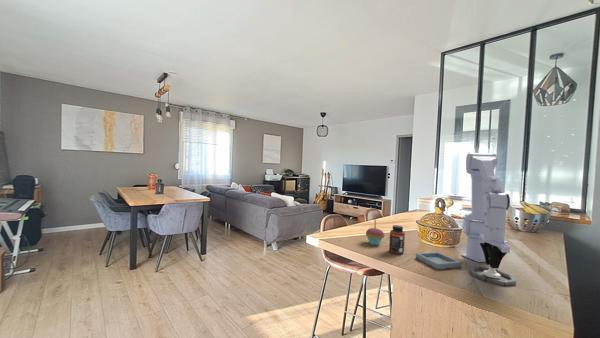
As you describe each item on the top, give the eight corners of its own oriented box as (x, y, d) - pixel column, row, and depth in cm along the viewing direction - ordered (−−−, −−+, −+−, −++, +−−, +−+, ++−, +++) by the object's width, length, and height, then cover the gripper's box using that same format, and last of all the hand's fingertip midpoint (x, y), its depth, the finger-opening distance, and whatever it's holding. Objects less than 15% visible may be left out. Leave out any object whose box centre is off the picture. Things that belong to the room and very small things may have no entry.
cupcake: (364, 240, 122) (365, 215, 122) (382, 241, 121) (383, 217, 120) (366, 245, 113) (367, 219, 113) (385, 247, 112) (387, 221, 112)
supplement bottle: (405, 255, 103) (406, 228, 103) (390, 253, 104) (391, 227, 104) (402, 250, 109) (403, 225, 108) (388, 249, 110) (389, 223, 110)
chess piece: (503, 279, 82) (504, 249, 82) (485, 276, 84) (486, 247, 84) (497, 274, 87) (499, 245, 87) (481, 271, 88) (482, 243, 88)
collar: (487, 268, 93) (487, 265, 93) (523, 283, 81) (523, 280, 81) (462, 270, 89) (462, 267, 89) (496, 287, 78) (496, 283, 78)
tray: (437, 256, 103) (437, 251, 103) (461, 267, 92) (461, 262, 92) (415, 258, 100) (416, 253, 100) (437, 269, 90) (437, 264, 89)
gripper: (522, 234, 77) (519, 277, 77) (495, 223, 91) (493, 259, 91) (496, 231, 78) (493, 274, 79) (474, 221, 93) (472, 257, 93)
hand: (492, 266), depth 85 cm, fingers closed on chess piece
